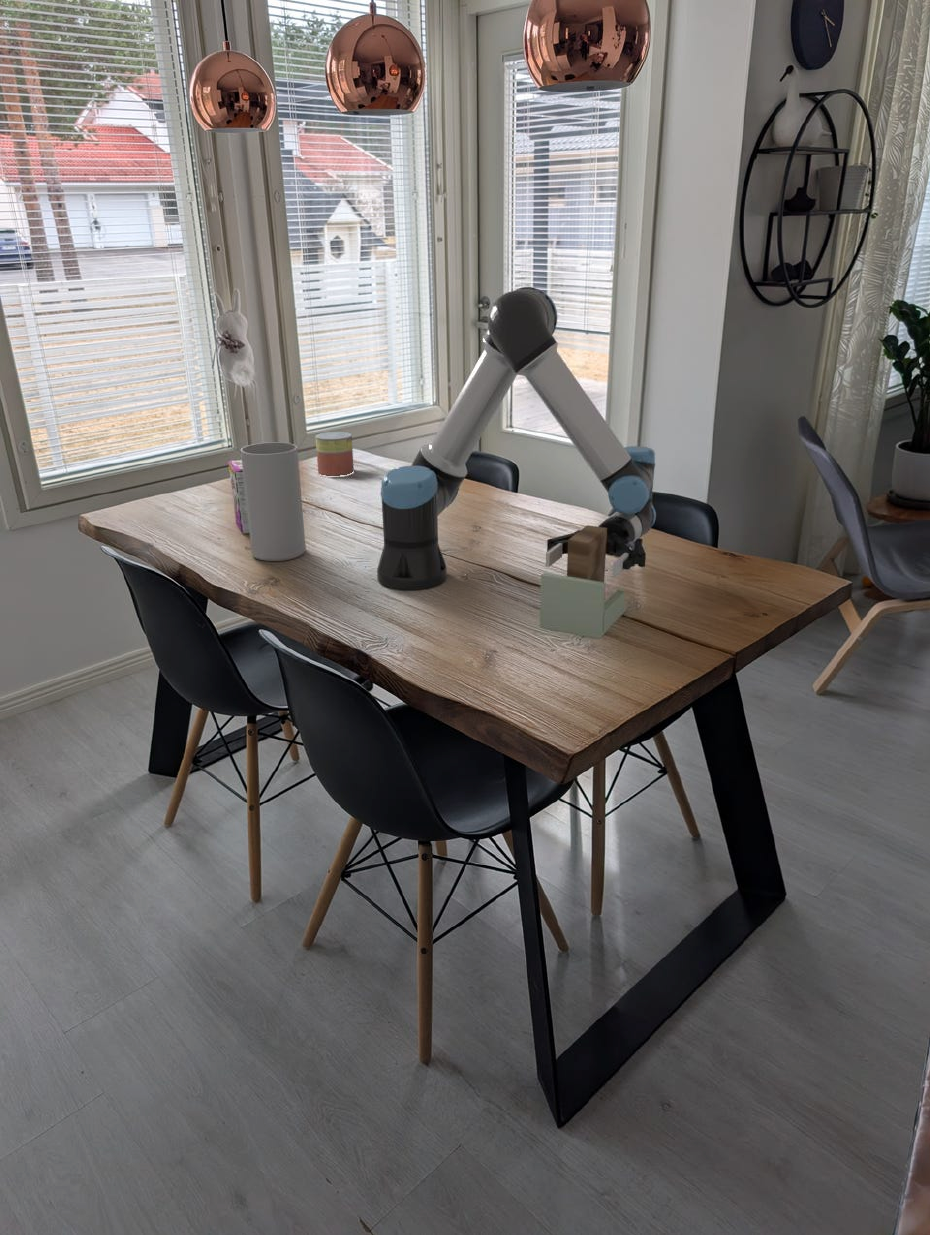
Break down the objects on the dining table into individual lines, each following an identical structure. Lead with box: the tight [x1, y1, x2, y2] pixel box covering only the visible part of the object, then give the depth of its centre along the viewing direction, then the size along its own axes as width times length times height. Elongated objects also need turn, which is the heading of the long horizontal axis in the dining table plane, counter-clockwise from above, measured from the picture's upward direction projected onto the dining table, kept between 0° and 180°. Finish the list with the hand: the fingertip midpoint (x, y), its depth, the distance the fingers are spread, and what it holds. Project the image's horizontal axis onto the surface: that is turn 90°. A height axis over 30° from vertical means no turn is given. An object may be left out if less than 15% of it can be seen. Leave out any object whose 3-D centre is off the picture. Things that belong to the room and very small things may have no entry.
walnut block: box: [566, 525, 607, 582], centre depth 172 cm, size 10×4×14 cm, turn 153°
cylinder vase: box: [240, 441, 307, 562], centre depth 209 cm, size 12×12×25 cm
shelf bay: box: [539, 572, 628, 640], centre depth 174 cm, size 16×12×11 cm
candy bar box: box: [228, 459, 250, 535], centre depth 229 cm, size 11×5×16 cm, turn 22°
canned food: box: [314, 431, 355, 476], centre depth 282 cm, size 11×11×12 cm
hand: (580, 565), depth 169 cm, fingers open, 13 cm apart
